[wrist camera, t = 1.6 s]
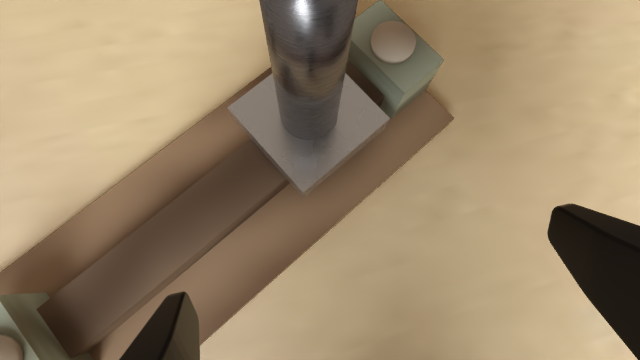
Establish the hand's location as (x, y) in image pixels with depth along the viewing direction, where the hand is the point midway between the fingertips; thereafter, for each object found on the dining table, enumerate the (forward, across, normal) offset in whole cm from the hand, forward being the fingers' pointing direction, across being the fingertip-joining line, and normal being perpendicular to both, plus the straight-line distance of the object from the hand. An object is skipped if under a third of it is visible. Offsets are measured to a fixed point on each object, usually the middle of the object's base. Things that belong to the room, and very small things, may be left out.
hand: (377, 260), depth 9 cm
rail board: (+13, +5, +6) cm, 16 cm away
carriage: (+13, 0, +2) cm, 14 cm away
